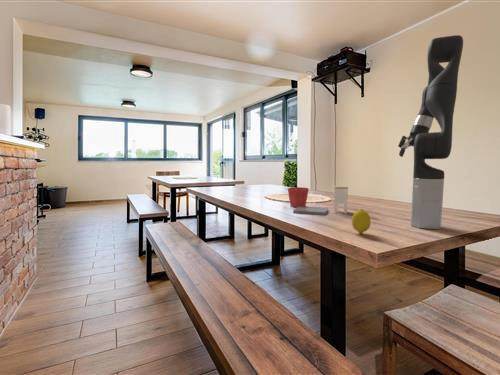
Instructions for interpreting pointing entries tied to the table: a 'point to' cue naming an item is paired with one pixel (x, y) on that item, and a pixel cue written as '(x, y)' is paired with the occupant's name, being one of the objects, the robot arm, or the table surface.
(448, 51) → the robot arm
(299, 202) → the flower pot
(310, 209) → the trivet
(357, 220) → the lemon
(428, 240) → the table surface
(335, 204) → the stool
